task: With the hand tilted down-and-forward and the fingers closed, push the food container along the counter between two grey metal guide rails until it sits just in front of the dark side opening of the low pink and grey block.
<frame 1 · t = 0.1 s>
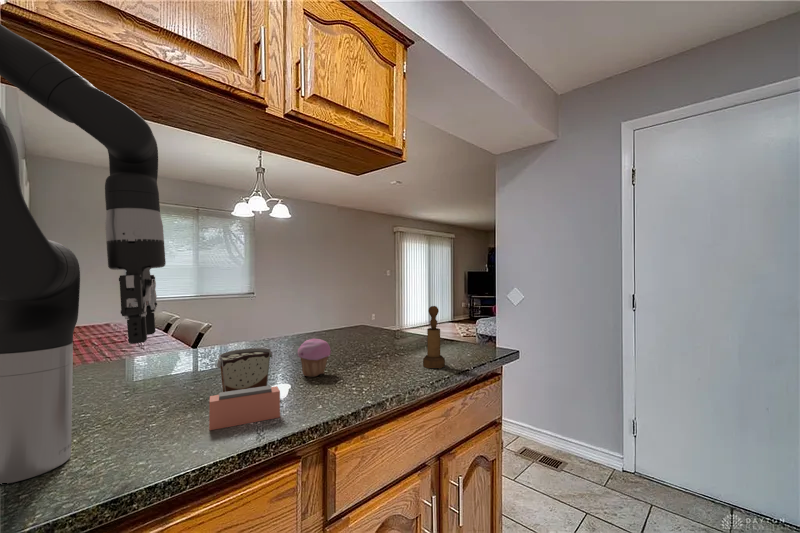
hand: (143, 338, 57), 17 cm above the counter, tool pointing down, fingers open, 8 cm apart
rails: (243, 409, 71), on the counter
cupcake: (314, 375, 96), on the counter
pink and grey block: (245, 420, 66), on the counter
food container: (240, 395, 80), on the counter
brown tall knobbed column: (433, 366, 105), on the counter
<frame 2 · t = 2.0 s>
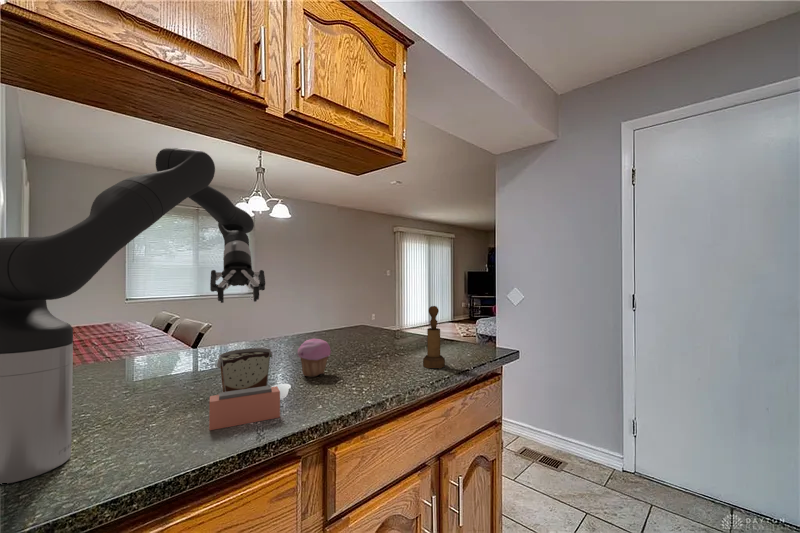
hand: (239, 300, 94), 21 cm above the counter, tool tilted 45°, fingers open, 7 cm apart
nothing on the counter moved.
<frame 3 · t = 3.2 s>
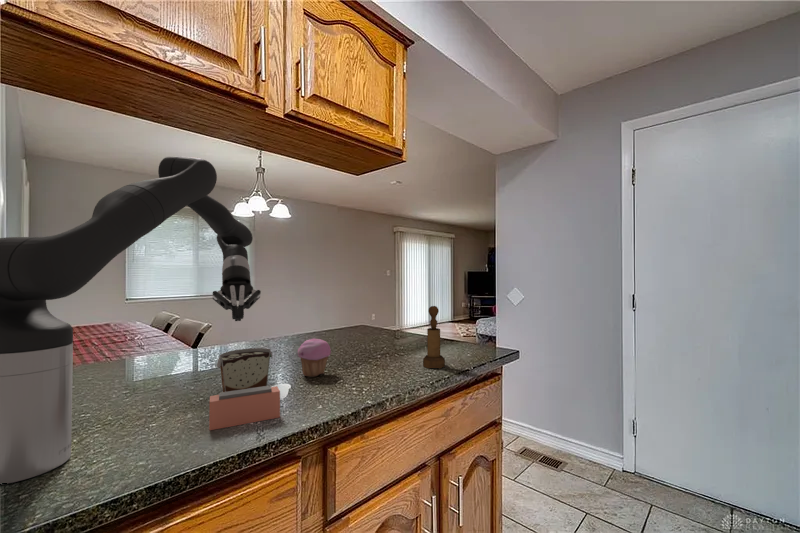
hand: (238, 319, 93), 16 cm above the counter, tool tilted 45°, fingers closed
nothing on the counter moved.
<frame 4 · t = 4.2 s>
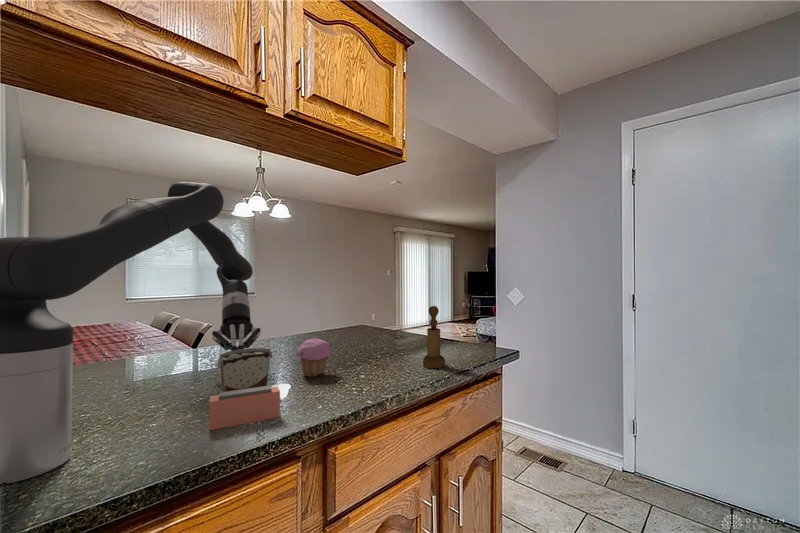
hand: (237, 360, 93), 5 cm above the counter, tool tilted 45°, fingers closed
nothing on the counter moved.
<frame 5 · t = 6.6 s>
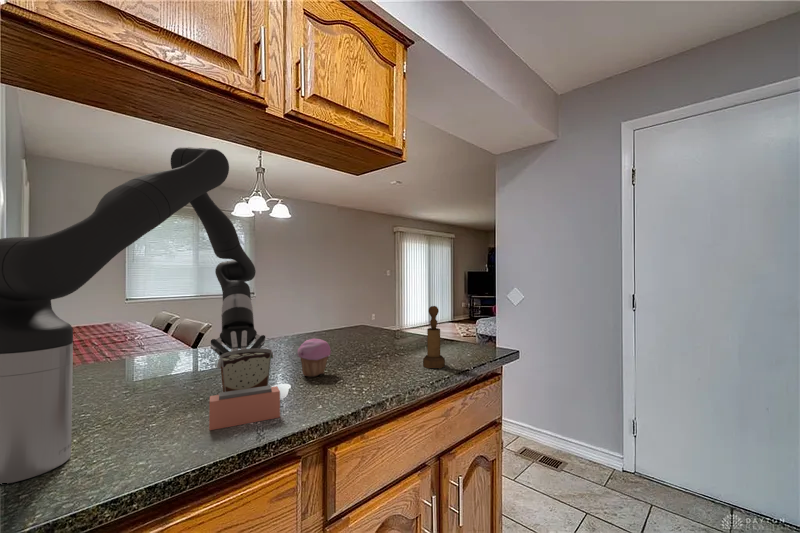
hand: (240, 373, 81), 5 cm above the counter, tool tilted 45°, fingers closed
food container: (241, 396, 80), on the counter, touching gripper
everything else where it was.
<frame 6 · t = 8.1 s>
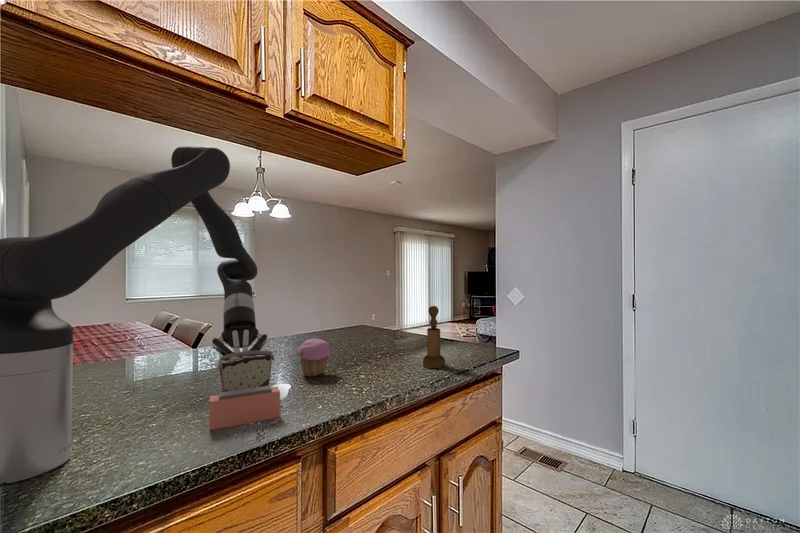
hand: (241, 372, 81), 5 cm above the counter, tool tilted 45°, fingers closed
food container: (241, 400, 78), on the counter
everything else where it was.
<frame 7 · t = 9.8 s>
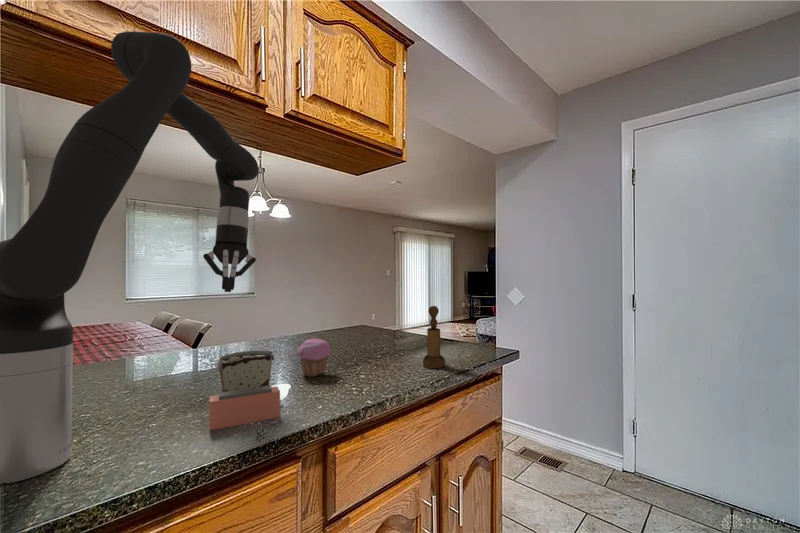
hand: (227, 291, 90), 23 cm above the counter, tool pointing down, fingers closed
nothing on the counter moved.
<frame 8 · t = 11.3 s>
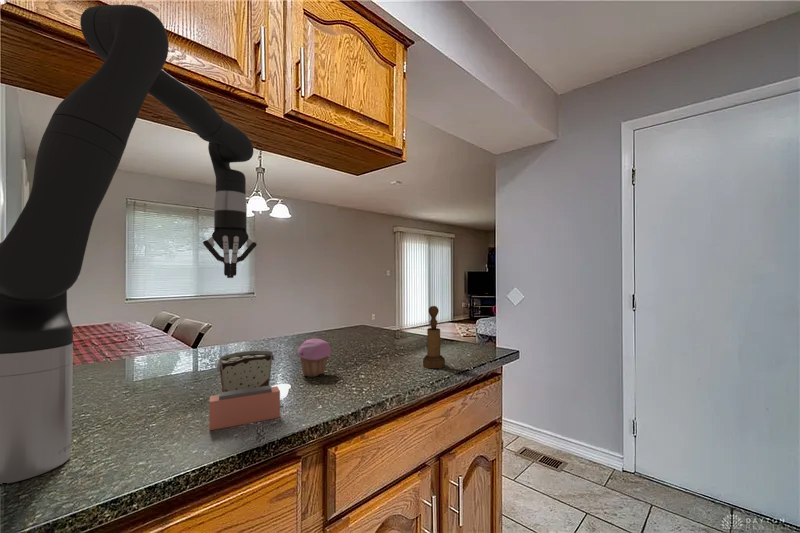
hand: (230, 277, 90), 27 cm above the counter, tool pointing down, fingers closed
nothing on the counter moved.
at the end: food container inside the target area (3.7 cm from its centre), on the counter; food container tilted 0°; the gripper is holding nothing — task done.
